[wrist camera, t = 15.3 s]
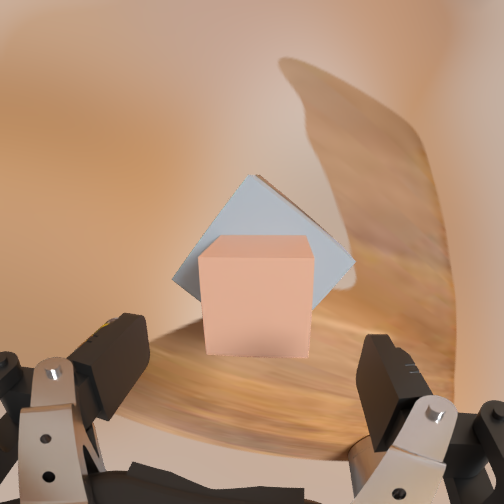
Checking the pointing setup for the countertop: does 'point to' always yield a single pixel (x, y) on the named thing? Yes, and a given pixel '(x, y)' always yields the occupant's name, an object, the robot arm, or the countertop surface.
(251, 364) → the countertop surface
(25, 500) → the robot arm
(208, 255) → the terracotta cube
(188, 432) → the countertop surface
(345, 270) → the upper block
